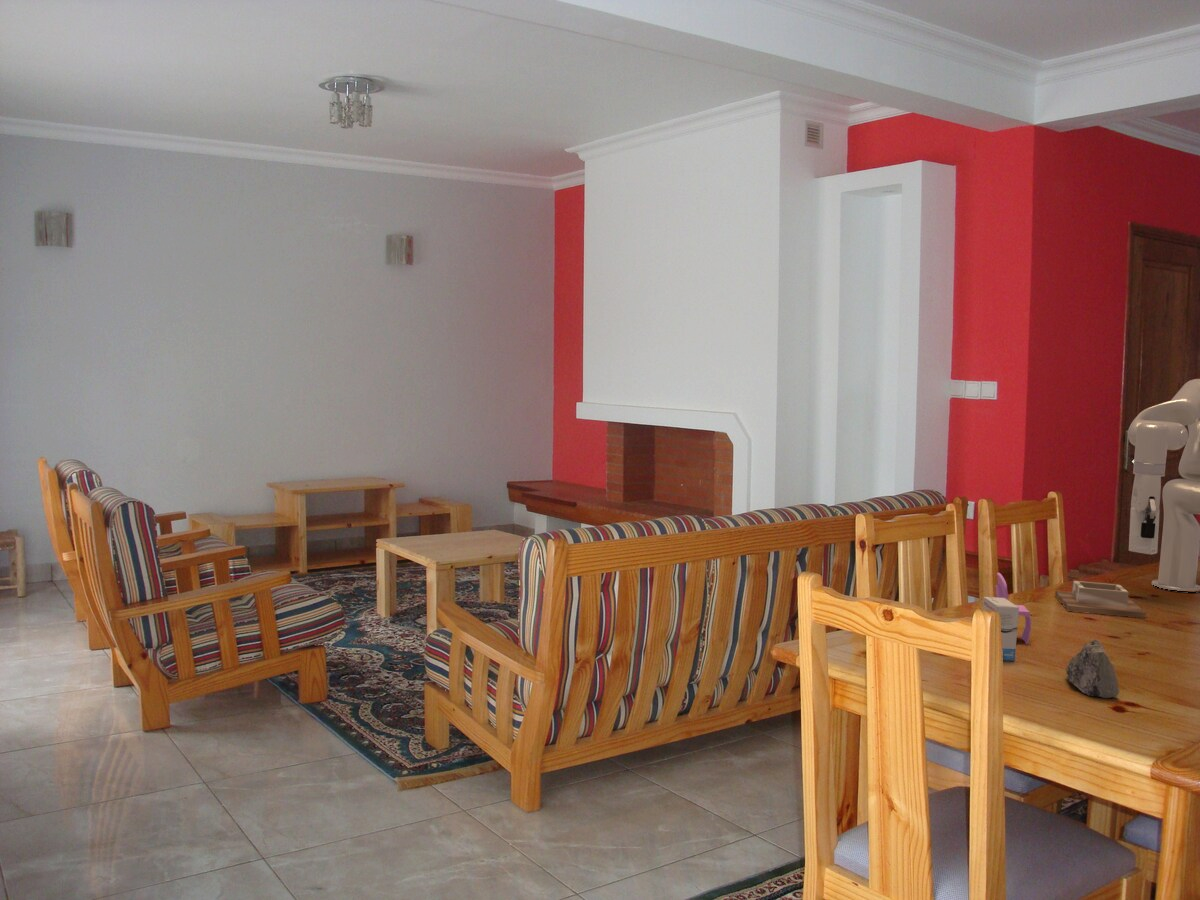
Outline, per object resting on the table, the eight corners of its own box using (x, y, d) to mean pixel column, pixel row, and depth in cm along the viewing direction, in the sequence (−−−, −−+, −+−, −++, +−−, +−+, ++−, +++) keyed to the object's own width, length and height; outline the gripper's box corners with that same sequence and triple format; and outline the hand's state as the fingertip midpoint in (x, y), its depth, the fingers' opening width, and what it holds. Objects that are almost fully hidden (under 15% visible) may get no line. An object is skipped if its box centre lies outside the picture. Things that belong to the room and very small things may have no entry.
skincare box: (1157, 553, 277) (1161, 508, 276) (1150, 555, 274) (1154, 510, 273) (1134, 549, 282) (1137, 505, 281) (1126, 551, 279) (1130, 506, 278)
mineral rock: (1068, 674, 209) (1072, 626, 208) (1127, 686, 203) (1132, 636, 202) (1054, 690, 199) (1059, 639, 198) (1116, 703, 193) (1121, 650, 192)
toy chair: (1031, 646, 230) (1036, 579, 228) (989, 642, 231) (994, 576, 230) (1023, 636, 238) (1029, 572, 236) (983, 632, 240) (988, 568, 238)
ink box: (1015, 661, 217) (1020, 606, 216) (992, 660, 217) (996, 605, 216) (1000, 650, 225) (1005, 597, 224) (978, 649, 225) (982, 596, 224)
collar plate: (1055, 596, 281) (1056, 576, 281) (1127, 602, 277) (1129, 582, 276) (1067, 611, 264) (1069, 590, 263) (1145, 618, 259) (1147, 597, 259)
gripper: (1125, 465, 285) (1120, 528, 287) (1142, 472, 268) (1136, 540, 270) (1155, 466, 283) (1150, 530, 285) (1174, 474, 266) (1168, 542, 268)
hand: (1143, 534), depth 278 cm, fingers closed on skincare box, 6 cm apart
